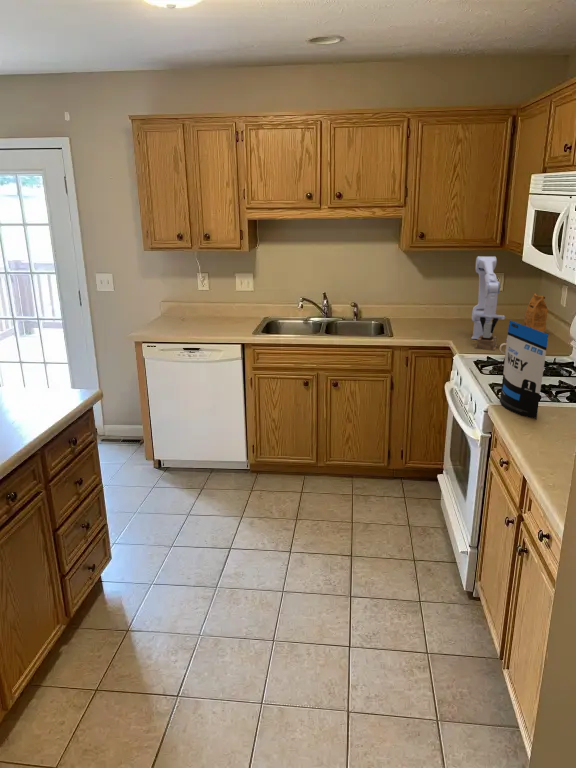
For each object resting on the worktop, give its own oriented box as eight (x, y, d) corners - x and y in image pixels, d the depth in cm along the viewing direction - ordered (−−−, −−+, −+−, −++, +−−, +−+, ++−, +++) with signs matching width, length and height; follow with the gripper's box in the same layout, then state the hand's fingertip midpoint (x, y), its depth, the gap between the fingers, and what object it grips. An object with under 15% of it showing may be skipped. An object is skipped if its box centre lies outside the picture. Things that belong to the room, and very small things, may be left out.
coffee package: (537, 330, 337) (542, 292, 330) (546, 335, 325) (552, 296, 318) (520, 330, 337) (525, 292, 330) (528, 335, 325) (534, 296, 318)
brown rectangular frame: (478, 342, 307) (478, 334, 306) (497, 344, 303) (498, 336, 301) (474, 348, 296) (475, 339, 294) (494, 350, 292) (495, 341, 290)
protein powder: (511, 396, 222) (521, 319, 213) (548, 418, 200) (561, 334, 191) (488, 397, 221) (497, 320, 212) (523, 420, 198) (535, 334, 189)
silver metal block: (484, 334, 302) (486, 321, 300) (491, 335, 300) (493, 321, 298) (482, 337, 295) (484, 323, 293) (489, 338, 293) (491, 324, 291)
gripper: (474, 306, 292) (471, 332, 297) (504, 308, 286) (501, 335, 291) (476, 304, 299) (474, 329, 303) (506, 306, 293) (503, 332, 297)
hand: (487, 332), depth 297 cm, fingers closed on silver metal block, 3 cm apart
